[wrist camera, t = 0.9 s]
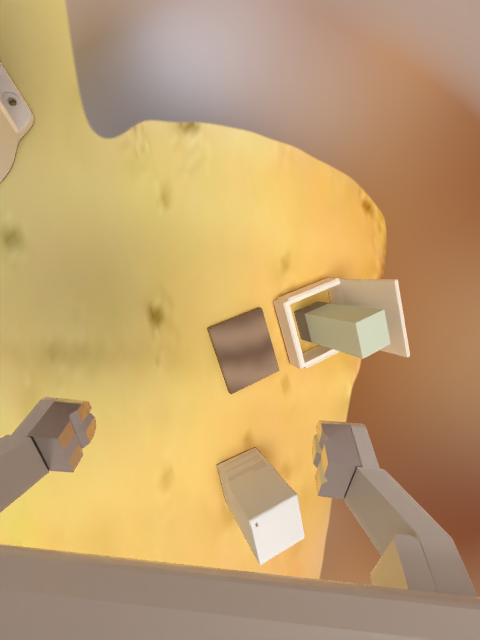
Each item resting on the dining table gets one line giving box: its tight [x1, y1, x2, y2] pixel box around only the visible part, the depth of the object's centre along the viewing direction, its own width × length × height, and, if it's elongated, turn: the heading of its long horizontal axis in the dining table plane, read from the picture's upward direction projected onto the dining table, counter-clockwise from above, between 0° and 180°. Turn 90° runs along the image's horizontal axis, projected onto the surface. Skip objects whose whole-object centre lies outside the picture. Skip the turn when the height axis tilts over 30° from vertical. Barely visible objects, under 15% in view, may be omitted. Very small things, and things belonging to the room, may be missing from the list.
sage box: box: [294, 302, 390, 359], centre depth 46 cm, size 5×5×14 cm
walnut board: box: [207, 308, 279, 394], centre depth 48 cm, size 11×9×1 cm
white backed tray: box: [274, 278, 410, 369], centre depth 46 cm, size 12×12×14 cm
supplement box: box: [217, 448, 305, 565], centre depth 45 cm, size 7×7×13 cm
